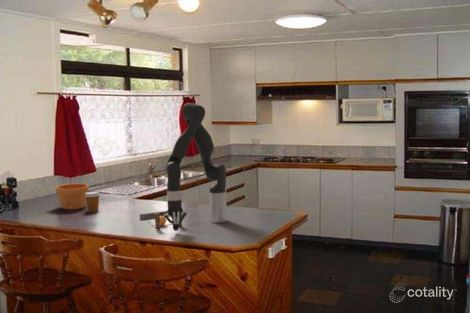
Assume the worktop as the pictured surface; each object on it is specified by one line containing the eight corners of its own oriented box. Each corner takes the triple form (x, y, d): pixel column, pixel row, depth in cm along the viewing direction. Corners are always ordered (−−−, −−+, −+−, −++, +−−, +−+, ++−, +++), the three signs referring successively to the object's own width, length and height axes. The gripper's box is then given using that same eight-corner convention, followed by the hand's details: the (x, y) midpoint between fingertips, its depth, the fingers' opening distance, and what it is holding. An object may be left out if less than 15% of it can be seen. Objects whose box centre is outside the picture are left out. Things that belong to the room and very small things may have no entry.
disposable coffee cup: (87, 212, 344) (86, 194, 343) (84, 210, 352) (83, 192, 351) (102, 211, 348) (101, 192, 347) (98, 208, 357) (97, 190, 355)
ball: (159, 227, 301) (155, 226, 306) (168, 224, 303) (164, 223, 308) (157, 217, 300) (154, 216, 305) (166, 215, 303) (163, 214, 308)
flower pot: (96, 204, 369) (94, 183, 367) (76, 211, 349) (75, 189, 347) (70, 203, 376) (69, 182, 374) (50, 210, 357) (49, 188, 355)
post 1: (154, 229, 297) (154, 213, 296) (159, 228, 298) (158, 212, 297) (156, 230, 295) (155, 214, 294) (160, 229, 296) (159, 213, 295)
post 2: (176, 226, 302) (176, 210, 301) (181, 225, 303) (180, 210, 302) (178, 227, 300) (177, 211, 299) (182, 226, 301) (181, 210, 300)
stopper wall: (139, 219, 323) (139, 214, 322) (168, 215, 330) (168, 210, 329) (140, 219, 321) (140, 214, 320) (169, 216, 328) (169, 211, 328)
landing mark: (146, 221, 315) (146, 221, 315) (169, 218, 321) (169, 218, 321) (153, 226, 302) (153, 226, 302) (176, 223, 308) (176, 223, 308)
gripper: (183, 196, 291) (185, 227, 293) (160, 198, 286) (162, 230, 288) (188, 198, 284) (189, 230, 286) (164, 201, 279) (166, 233, 281)
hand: (175, 230), depth 287 cm, fingers closed
